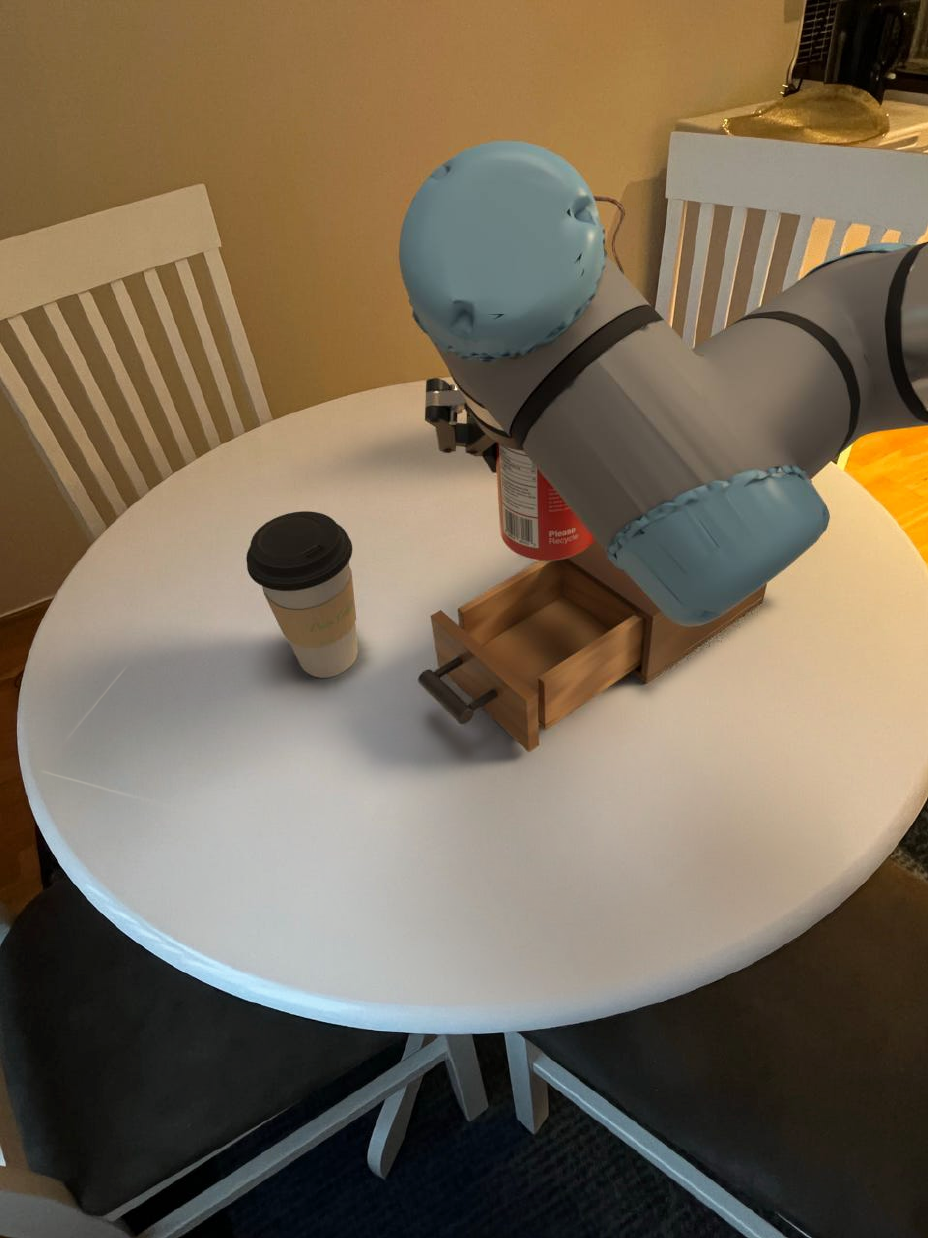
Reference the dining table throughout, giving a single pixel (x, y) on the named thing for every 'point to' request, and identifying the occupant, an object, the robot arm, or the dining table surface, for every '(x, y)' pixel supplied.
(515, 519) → the soda can
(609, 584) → the cabinet
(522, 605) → the drawer
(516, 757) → the dining table surface
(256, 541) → the coffee cup
